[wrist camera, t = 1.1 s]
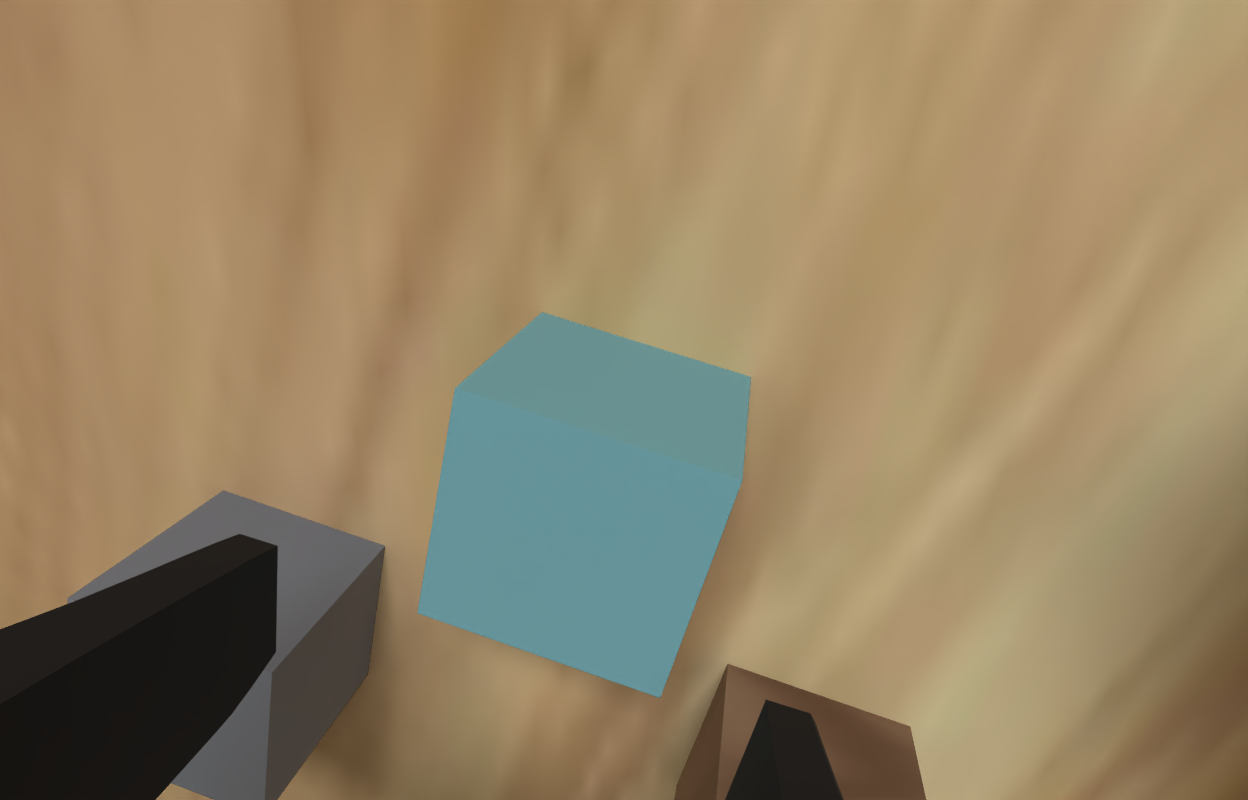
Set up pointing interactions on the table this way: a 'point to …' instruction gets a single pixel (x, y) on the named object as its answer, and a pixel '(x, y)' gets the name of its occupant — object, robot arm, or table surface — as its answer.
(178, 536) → the charcoal block
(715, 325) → the table surface
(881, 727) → the walnut block
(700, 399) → the teal block
